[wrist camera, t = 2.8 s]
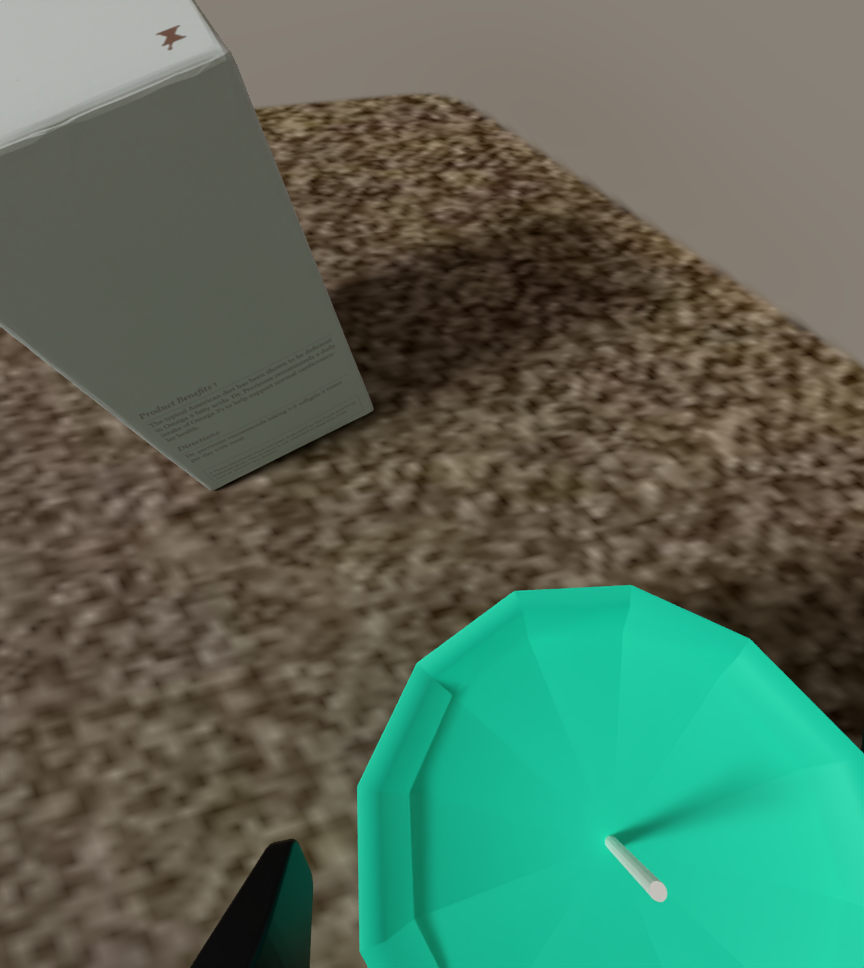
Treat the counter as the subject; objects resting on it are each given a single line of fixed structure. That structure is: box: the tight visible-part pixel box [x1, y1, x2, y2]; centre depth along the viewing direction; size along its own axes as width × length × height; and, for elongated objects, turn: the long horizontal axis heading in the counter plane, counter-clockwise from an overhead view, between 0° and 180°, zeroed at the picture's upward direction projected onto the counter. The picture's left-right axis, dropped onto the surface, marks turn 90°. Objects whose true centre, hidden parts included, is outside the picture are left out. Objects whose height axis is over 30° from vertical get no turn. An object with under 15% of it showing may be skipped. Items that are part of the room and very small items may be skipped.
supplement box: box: [0, 0, 374, 491], centre depth 16 cm, size 7×7×13 cm
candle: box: [357, 585, 864, 968], centre depth 10 cm, size 6×6×12 cm
